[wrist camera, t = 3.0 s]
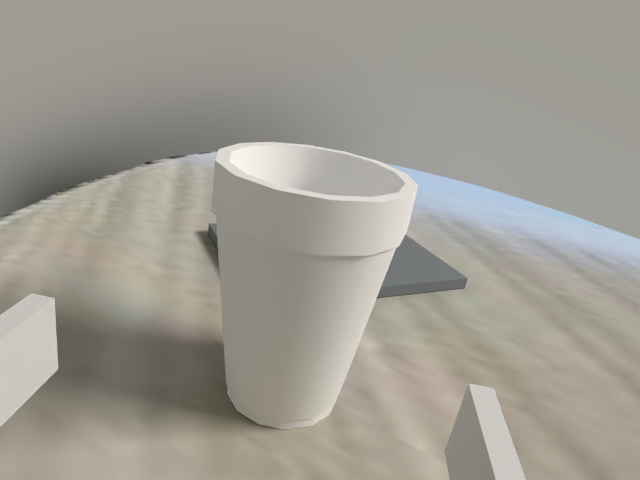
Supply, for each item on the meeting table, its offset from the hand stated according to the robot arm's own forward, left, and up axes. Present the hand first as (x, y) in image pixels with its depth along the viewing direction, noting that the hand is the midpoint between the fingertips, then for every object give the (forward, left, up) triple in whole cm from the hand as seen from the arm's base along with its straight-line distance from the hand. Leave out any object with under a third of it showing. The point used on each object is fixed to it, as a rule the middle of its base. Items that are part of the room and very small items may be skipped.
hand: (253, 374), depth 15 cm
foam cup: (-5, -8, -9) cm, 13 cm away
